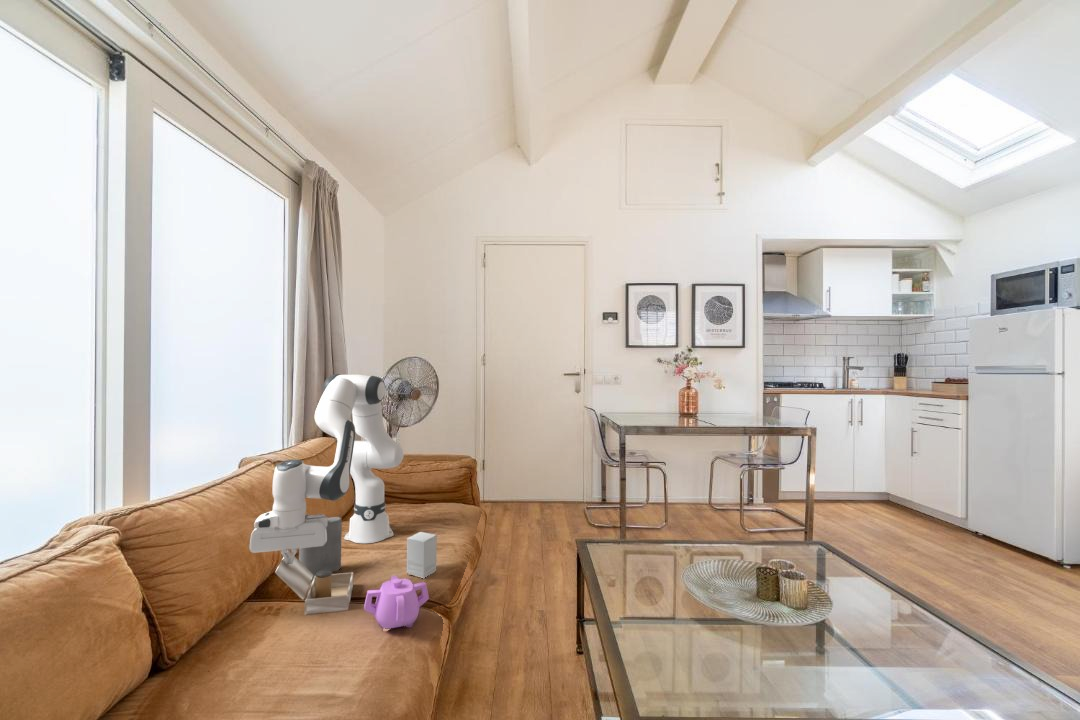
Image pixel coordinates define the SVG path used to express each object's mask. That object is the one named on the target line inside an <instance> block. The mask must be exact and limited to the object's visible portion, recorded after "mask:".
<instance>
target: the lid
mask: <svg viewBox="0 0 1080 720" xmlns="http://www.w3.org/2000/svg"><path fill="white" fill-rule="evenodd" d="M287 554H288V555H289V556H291V555H292V554H293V552H291V551H290V549H288V551H287ZM274 574H276V576H277V577H278V578H279V579H280V580H282V581H283V582H284V584H286V585H287V586H288V587H289V588H290V589H291V590H292V591H293V592H294V593H295V594H296V595H297V597H299V598H300V599H301V600H302V601H303V600H305V599H306V596H307V594H308V591H309V588H310V586H311V583H312V582H311V580H312V578H313V574H312V573H311V572H310V571H309V570H308V569H307V568H306V567H305V566H304V565H303V564H302V563H301V562H300V561H299V558H297V557H296V556H294V561H293V564H285V558H284V557H283V556H282V559H281V561H280V563H279V564H278V566H277V568H276V570H275V571H274Z"/></svg>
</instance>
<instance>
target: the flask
mask: <svg viewBox="0 0 1080 720" xmlns="http://www.w3.org/2000/svg"><path fill="white" fill-rule="evenodd" d="M321 514H322V515H324V516H326V517H327V515H325V514H324V513H321ZM327 519H328V526H327V527H326V532H327V541H326V543H325V544H324V546H319V547H309V548H299V549H298V550H299V551H298V560H299V561H300V562H301V563H302V564H303V565H304V566H305V567H306V568H307V569H308V570H309V571H310V572H311V573H312V574H313V578H314V576H316V573H317V572H318V571H321V570H331V571H332V573H334V572H339V571H340V570H341V569H342V532H343V530H342V529H343V528H342V526H343V520H342V517H339V516H332V517H327ZM340 568H341V569H340ZM339 569H340V570H339ZM338 570H339V571H338ZM313 578H312V580H311V583H312V581H313Z"/></svg>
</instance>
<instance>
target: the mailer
mask: <svg viewBox="0 0 1080 720" xmlns="http://www.w3.org/2000/svg"><path fill="white" fill-rule="evenodd" d="M353 586H354V572H353V571H351V572H343V573H340V572H339V573H332V592H331V597H325V598H316V599H315V593H316V576H314V578H313V581H312V582H311V583H310V585H309V588H308V590H307V593H306V596H305V598H304V616H306V615H313V614H321V613H323V614H324V613H332V612H333V613H334V612H343V611H348V610H349V606H350V603H351V597H352V591H353V589H354V587H353Z"/></svg>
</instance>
